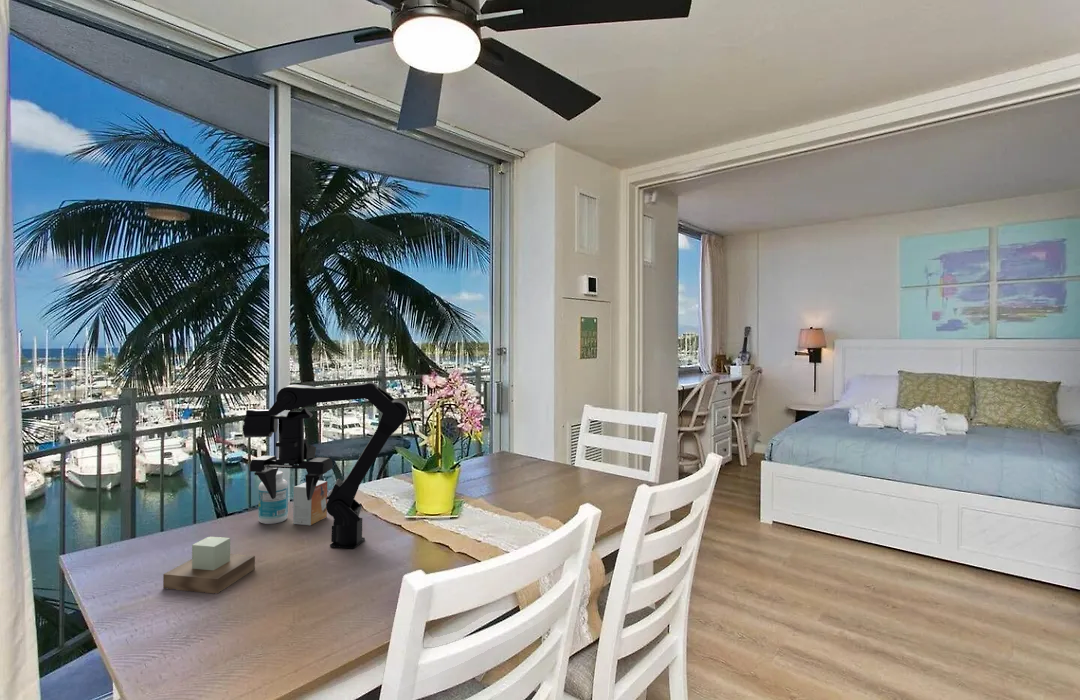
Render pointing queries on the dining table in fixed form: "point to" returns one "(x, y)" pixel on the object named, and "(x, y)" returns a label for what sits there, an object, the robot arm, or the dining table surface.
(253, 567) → the walnut plinth
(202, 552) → the sage block
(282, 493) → the pill bottle
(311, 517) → the small box
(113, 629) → the dining table surface
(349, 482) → the robot arm
